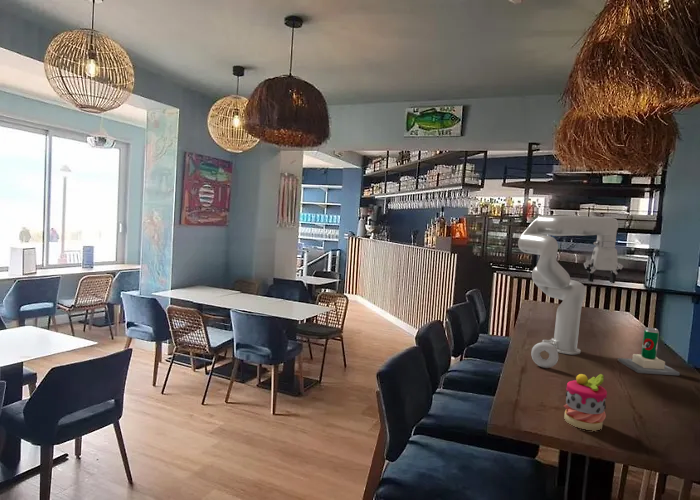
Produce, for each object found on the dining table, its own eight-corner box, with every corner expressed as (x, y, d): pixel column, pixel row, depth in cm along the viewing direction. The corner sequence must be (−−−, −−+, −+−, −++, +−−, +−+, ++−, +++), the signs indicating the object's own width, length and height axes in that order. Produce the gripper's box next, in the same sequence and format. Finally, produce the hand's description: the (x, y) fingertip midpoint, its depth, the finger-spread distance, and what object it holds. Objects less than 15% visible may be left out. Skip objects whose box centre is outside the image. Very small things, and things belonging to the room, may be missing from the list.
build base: (637, 372, 177) (639, 362, 177) (617, 360, 191) (619, 351, 191) (679, 375, 177) (680, 365, 177) (656, 363, 191) (657, 353, 191)
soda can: (658, 360, 181) (661, 331, 180) (644, 358, 182) (647, 329, 181) (652, 356, 186) (655, 327, 185) (638, 355, 187) (642, 326, 186)
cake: (569, 429, 126) (574, 377, 125) (558, 412, 137) (563, 364, 135) (609, 434, 125) (615, 381, 123) (595, 417, 135) (600, 368, 134)
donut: (558, 369, 176) (560, 344, 175) (556, 371, 173) (558, 346, 172) (531, 363, 182) (533, 338, 181) (529, 365, 179) (531, 340, 178)
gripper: (590, 244, 203) (586, 282, 205) (629, 246, 203) (625, 284, 204) (582, 243, 211) (578, 279, 212) (620, 245, 210) (615, 281, 212)
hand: (601, 282), depth 208 cm, fingers open, 9 cm apart
